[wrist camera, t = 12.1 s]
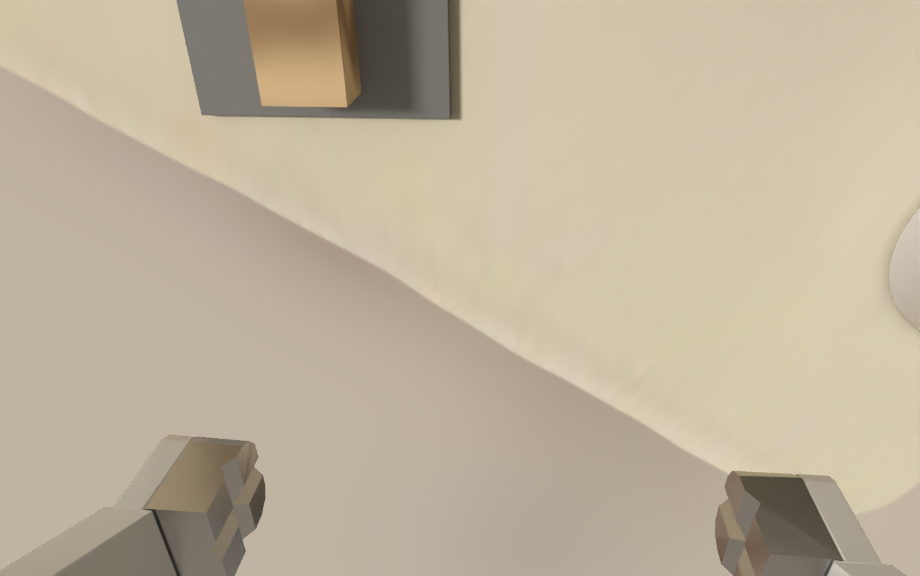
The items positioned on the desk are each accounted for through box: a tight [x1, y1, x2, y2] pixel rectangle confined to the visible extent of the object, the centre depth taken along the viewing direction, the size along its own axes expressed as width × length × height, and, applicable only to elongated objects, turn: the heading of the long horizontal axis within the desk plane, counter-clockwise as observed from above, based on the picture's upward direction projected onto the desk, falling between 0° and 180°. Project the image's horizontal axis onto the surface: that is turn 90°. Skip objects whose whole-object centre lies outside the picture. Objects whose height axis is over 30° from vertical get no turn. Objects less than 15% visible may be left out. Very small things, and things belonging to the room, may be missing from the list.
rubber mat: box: [177, 0, 451, 119], centre depth 36 cm, size 16×12×1 cm
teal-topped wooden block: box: [243, 0, 361, 107], centre depth 34 cm, size 9×5×4 cm, turn 1°
